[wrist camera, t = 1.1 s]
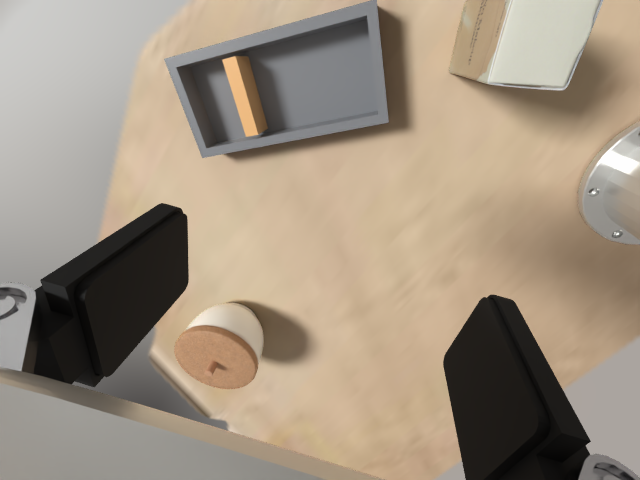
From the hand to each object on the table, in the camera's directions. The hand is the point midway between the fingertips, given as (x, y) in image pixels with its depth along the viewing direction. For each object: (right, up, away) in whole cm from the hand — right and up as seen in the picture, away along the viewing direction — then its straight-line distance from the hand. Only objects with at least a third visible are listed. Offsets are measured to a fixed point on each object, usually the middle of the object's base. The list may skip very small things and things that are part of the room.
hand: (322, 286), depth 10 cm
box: (+13, +18, +16) cm, 27 cm away
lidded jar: (-12, -10, +36) cm, 39 cm away
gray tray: (-3, +16, +19) cm, 25 cm away
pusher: (-6, +15, +19) cm, 25 cm away
